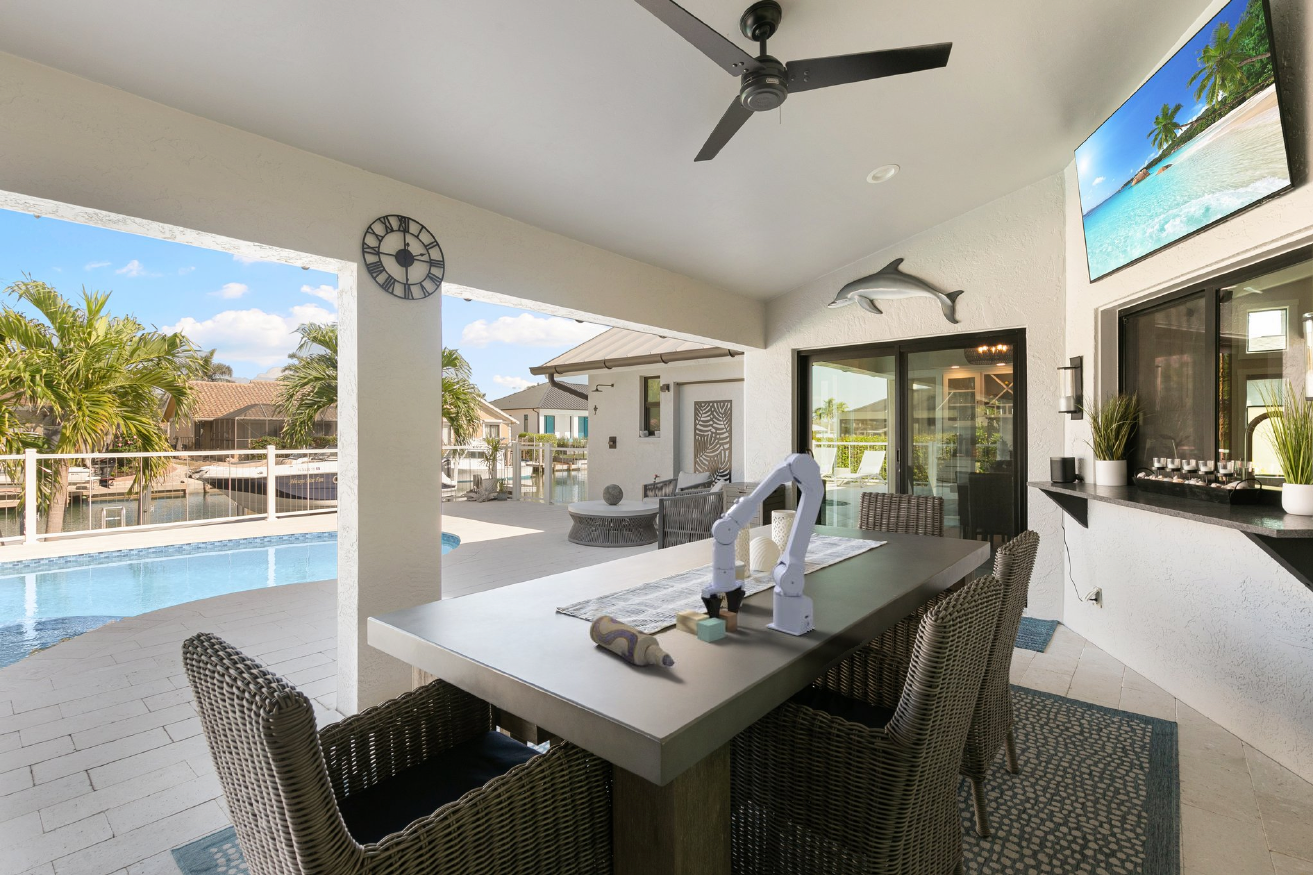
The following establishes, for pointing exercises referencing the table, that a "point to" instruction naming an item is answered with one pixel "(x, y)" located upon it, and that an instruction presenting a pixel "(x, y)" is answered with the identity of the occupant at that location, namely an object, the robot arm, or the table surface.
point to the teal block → (711, 629)
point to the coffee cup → (738, 576)
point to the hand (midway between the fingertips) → (723, 621)
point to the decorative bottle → (628, 642)
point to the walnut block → (728, 620)
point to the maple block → (689, 621)
